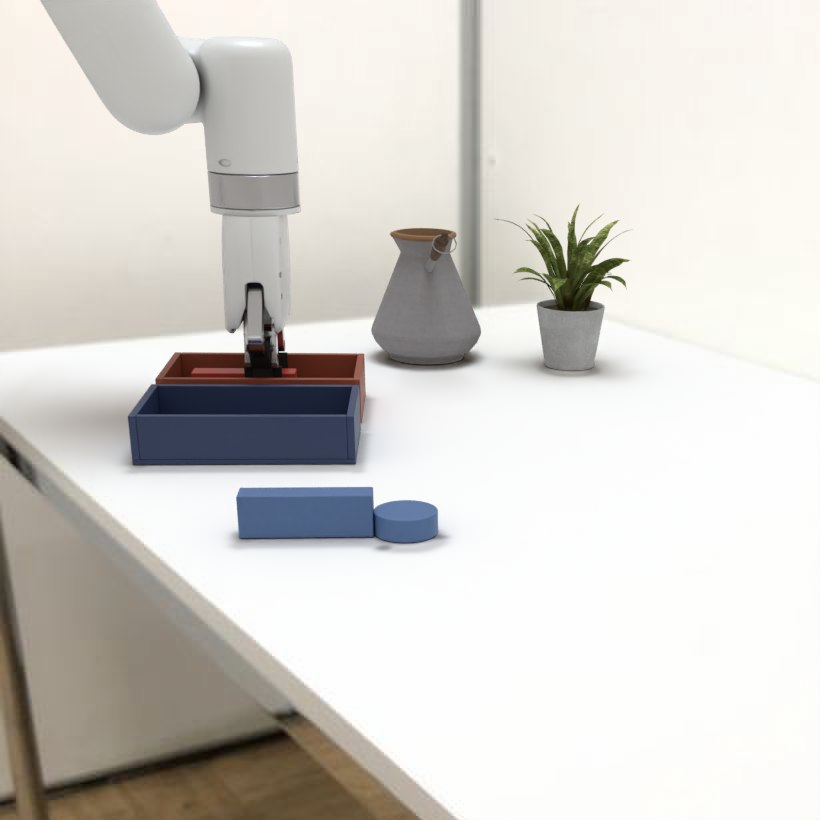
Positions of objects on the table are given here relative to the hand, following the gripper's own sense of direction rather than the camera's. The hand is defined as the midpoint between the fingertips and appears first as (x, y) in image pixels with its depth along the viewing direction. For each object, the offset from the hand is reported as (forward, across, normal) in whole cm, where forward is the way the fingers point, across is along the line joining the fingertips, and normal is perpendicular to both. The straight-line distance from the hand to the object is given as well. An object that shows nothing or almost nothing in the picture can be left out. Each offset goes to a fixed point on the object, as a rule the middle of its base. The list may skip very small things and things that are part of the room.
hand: (268, 401), depth 122 cm
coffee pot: (+1, -16, +15) cm, 22 cm away
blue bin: (+1, +12, 0) cm, 12 cm away
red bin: (+1, 0, 0) cm, 1 cm away
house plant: (+1, -17, +28) cm, 33 cm away
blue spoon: (+1, +33, +8) cm, 34 cm away
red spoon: (0, 0, 0) cm, 0 cm away
